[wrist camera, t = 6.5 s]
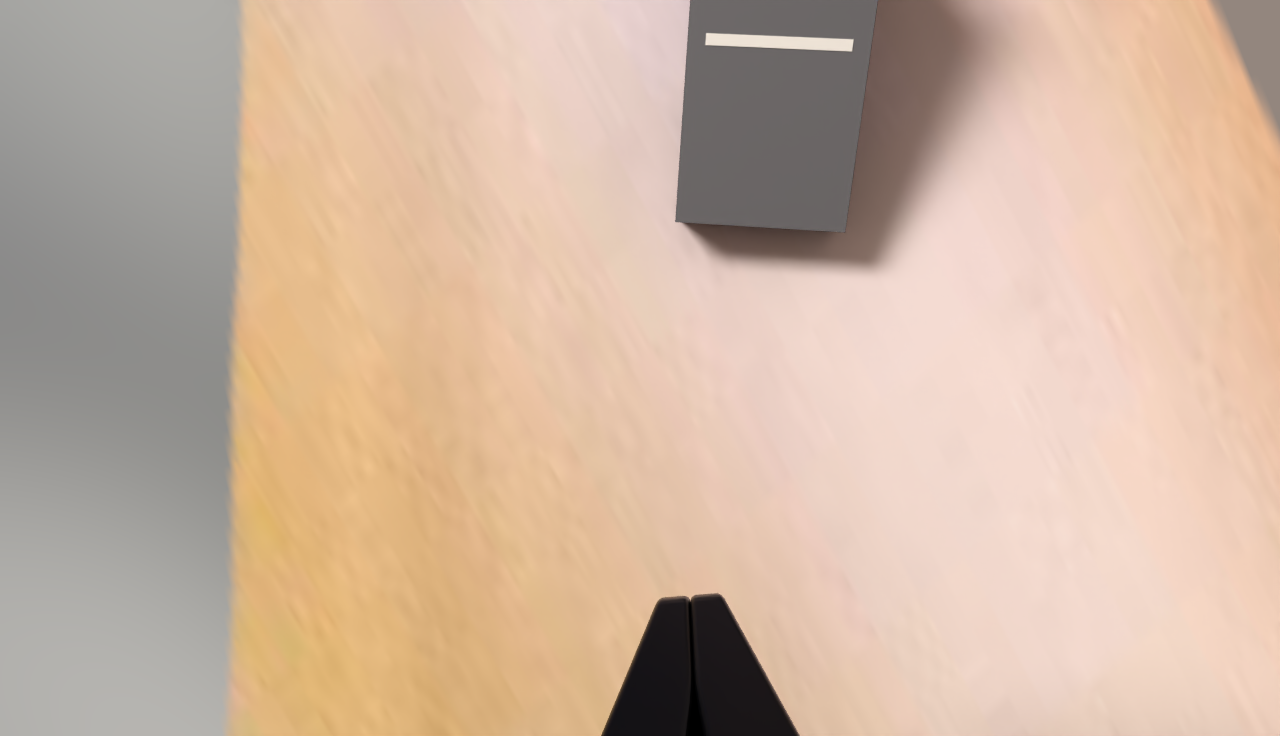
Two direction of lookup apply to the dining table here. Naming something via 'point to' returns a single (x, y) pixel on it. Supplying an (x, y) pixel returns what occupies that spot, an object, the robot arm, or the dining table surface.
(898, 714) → the dining table surface
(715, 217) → the domino
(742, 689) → the robot arm
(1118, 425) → the dining table surface
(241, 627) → the dining table surface
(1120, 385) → the dining table surface
